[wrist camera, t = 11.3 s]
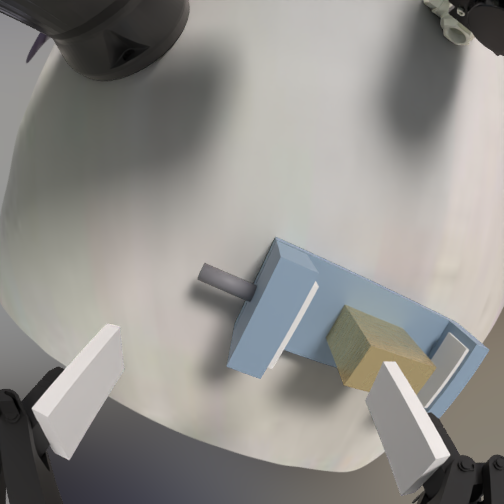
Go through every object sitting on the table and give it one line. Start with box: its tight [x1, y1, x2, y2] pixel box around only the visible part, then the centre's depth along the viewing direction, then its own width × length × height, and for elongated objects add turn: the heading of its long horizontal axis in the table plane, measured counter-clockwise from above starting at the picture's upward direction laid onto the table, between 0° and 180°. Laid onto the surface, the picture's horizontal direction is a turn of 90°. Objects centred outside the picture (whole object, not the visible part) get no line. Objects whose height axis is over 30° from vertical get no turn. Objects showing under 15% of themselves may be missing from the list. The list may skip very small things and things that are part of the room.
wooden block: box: [326, 305, 437, 395], centre depth 24 cm, size 8×4×8 cm, turn 66°
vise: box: [233, 237, 489, 418], centre depth 26 cm, size 26×10×8 cm, turn 66°
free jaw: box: [198, 240, 319, 379], centre depth 24 cm, size 9×10×6 cm
